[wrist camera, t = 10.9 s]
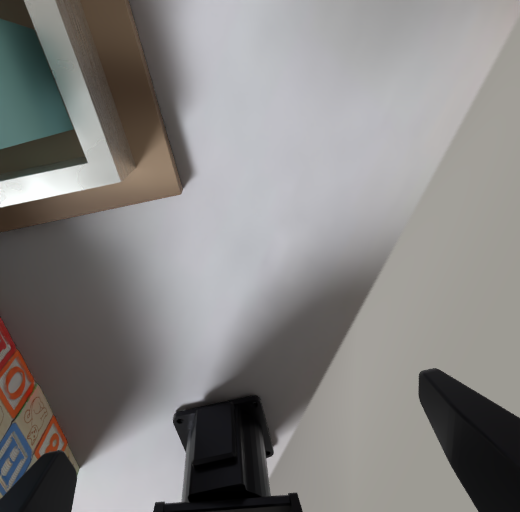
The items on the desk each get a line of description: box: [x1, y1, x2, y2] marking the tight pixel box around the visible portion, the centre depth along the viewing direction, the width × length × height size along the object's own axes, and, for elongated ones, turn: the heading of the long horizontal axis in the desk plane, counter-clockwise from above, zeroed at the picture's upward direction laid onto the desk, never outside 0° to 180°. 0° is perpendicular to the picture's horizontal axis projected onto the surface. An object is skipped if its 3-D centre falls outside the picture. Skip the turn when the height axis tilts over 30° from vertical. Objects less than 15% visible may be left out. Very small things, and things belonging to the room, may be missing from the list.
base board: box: [0, 0, 183, 232], centre depth 16 cm, size 12×12×1 cm
